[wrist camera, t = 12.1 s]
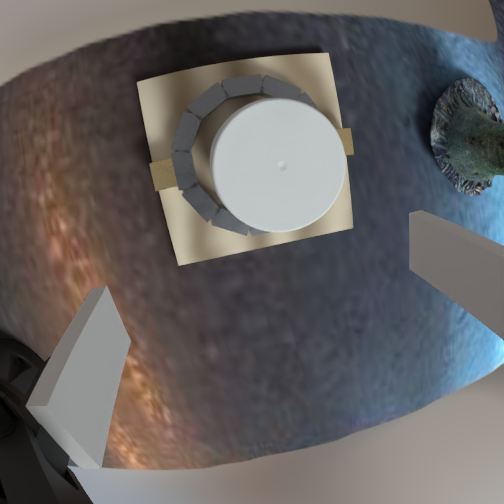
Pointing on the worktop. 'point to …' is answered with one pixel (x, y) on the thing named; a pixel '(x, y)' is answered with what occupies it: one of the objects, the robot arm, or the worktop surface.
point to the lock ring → (181, 162)
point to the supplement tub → (277, 164)
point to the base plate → (167, 121)
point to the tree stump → (468, 136)
